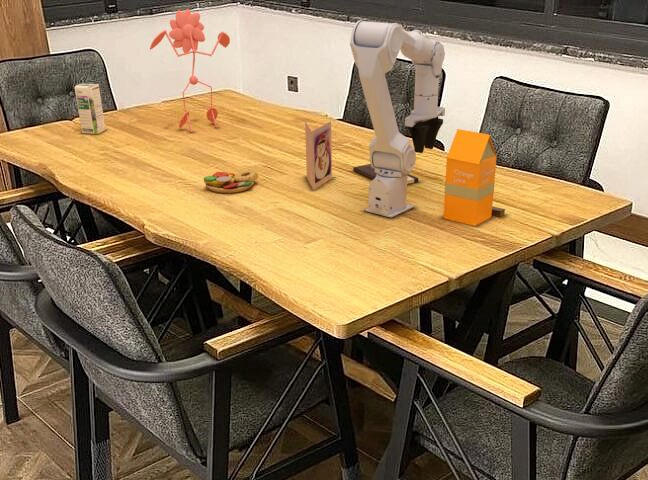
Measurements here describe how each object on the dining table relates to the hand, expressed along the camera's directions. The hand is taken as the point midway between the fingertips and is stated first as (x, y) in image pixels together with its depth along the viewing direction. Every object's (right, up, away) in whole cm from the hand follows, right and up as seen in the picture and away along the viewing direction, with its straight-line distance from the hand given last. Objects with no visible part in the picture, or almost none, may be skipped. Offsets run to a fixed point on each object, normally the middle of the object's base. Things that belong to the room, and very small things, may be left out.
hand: (423, 150), depth 210 cm
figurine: (-69, +28, +65) cm, 99 cm away
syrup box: (-101, +25, +61) cm, 120 cm away
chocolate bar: (-9, -2, +16) cm, 19 cm away
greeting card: (-28, -5, +13) cm, 31 cm away
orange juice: (+9, -20, -12) cm, 25 cm away
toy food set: (-50, -7, +11) cm, 52 cm away
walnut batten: (+13, -17, -8) cm, 23 cm away
